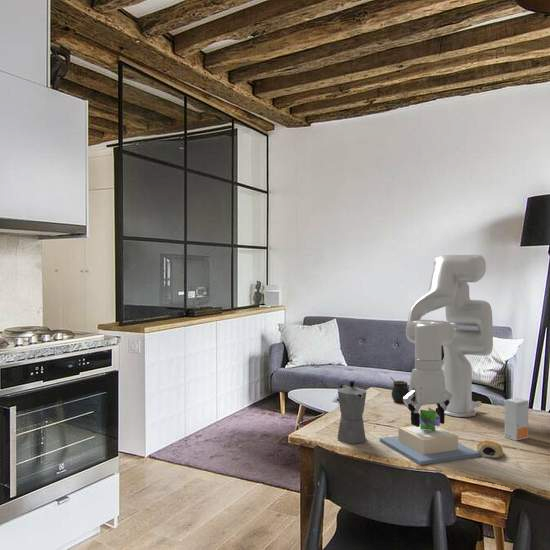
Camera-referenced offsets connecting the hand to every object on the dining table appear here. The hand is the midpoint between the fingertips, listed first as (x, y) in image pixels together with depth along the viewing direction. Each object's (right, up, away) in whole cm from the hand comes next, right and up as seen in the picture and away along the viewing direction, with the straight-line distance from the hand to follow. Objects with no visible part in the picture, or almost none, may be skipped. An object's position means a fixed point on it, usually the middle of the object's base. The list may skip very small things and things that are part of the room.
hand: (427, 423), depth 142 cm
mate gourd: (+6, -8, +54) cm, 55 cm away
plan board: (0, -7, 0) cm, 7 cm away
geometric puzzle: (0, -2, 0) cm, 2 cm away
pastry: (+17, -8, -4) cm, 19 cm away
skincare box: (+31, -8, +10) cm, 34 cm away
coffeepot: (-22, -7, +9) cm, 25 cm away
